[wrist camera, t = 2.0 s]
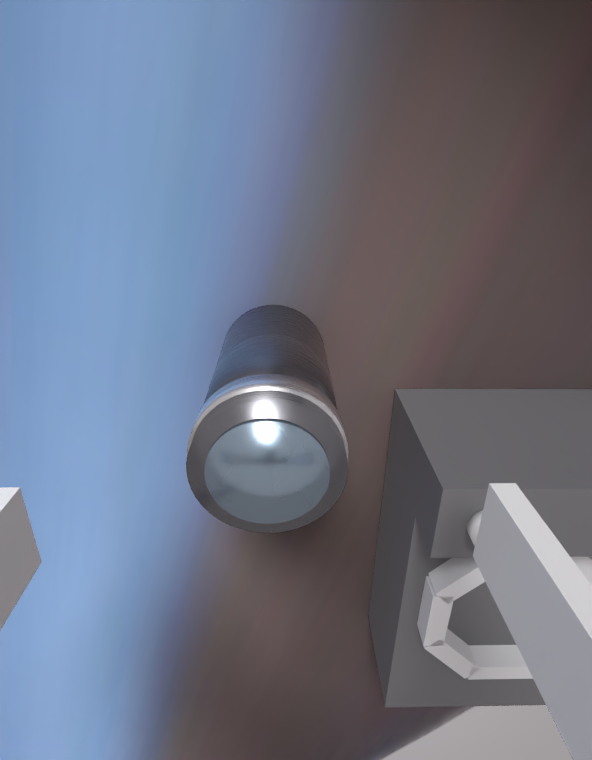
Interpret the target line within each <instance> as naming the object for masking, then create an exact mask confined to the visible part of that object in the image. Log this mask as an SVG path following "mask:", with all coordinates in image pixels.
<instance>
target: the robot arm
mask: <svg viewBox="0 0 592 760" xmlns="http://www.w3.org/2000/svg"><path fill="white" fill-rule="evenodd" d="M473 558H474V560H475V562H476V564H477V566H478V568H479V570H480V572H481V574H482V576H483V578H484V580H485V582H486V584H487V586H488V588H489V590H490V592H491V594H492V596H493V598H494V600H495V602H496V604H497V606H498V608H499V610H500V612H501V614H502V617H503V619H504V621H505V623H506V625H507V627H508V629H509V631H510V633H511V635H512V637H513V639H514V641H515V643H516V645H517V647H518V649H519V651H520V653H521V655H522V657H523V659H524V661H525V663H526V665H527V667H528V669H529V671H530V673H531V675H532V677H533V679H534V681H535V683H536V685H537V687H538V689H539V692H540V694H541V696H542V698H543V700H544V702H545V704H546V706H547V708H548V710H549V712H550V714H551V716H552V718H553V720H554V722H555V724H556V726H557V728H558V730H559V732H560V734H561V736H562V738H563V740H564V742H565V744H566V746H567V748H568V750H569V752H570V754H571V756H572V758H573V760H592V585H591V584H590V583H589V581H588V580H587V579H586V577H585V576H584V575H583V573H582V572H581V571H580V569H579V568H578V566H577V565H576V564H575V562H574V561H573V560H572V558H571V557H570V556H569V554H568V553H567V552H566V550H565V549H564V548H563V546H562V545H561V544H560V542H559V541H558V540H557V538H556V537H555V535H554V534H553V533H552V531H551V530H550V529H549V527H548V526H547V525H546V523H545V522H544V521H543V519H542V518H541V517H540V515H539V514H538V513H537V511H536V510H535V509H534V507H533V506H532V504H531V503H530V502H529V500H528V499H527V498H526V496H525V495H524V494H523V492H522V491H521V490H520V488H519V487H518V486H517V484H516V483H489V487H488V491H487V495H486V500H485V504H484V508H483V513H482V517H481V521H480V526H479V530H478V535H477V539H476V543H475V548H474V552H473ZM40 564H41V558H40V555H39V551H38V548H37V545H36V541H35V538H34V534H33V531H32V527H31V524H30V521H29V517H28V514H27V510H26V507H25V503H24V500H23V496H22V493H21V490H20V488H0V630H1V628H2V627H3V625H4V623H5V622H6V620H7V618H8V617H9V615H10V613H11V612H12V610H13V609H14V607H15V605H16V604H17V602H18V600H19V599H20V597H21V595H22V594H23V592H24V590H25V589H26V587H27V585H28V584H29V582H30V580H31V579H32V577H33V575H34V574H35V572H36V570H37V569H38V567H39V565H40Z"/></svg>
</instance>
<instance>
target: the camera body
mask: <svg viewBox="0 0 592 760" xmlns="http://www.w3.org/2000/svg"><path fill="white" fill-rule="evenodd" d="M489 483H516V484H517V486H518V487H519V488H520V490H521V491H522V492H523V494H524V495H525V496H526V498H527V499H528V500H529V502H530V503H531V504H532V506H533V507H534V509H535V510H536V511H537V513H538V514H539V515H540V517H541V518H542V519H543V521H544V522H545V523H546V525H547V526H548V527H549V529H550V530H551V531H552V533H553V534H554V535H555V537H556V538H557V540H558V541H559V542H560V544H561V545H562V546H563V548H564V549H565V550H566V552H567V553H568V554H569V556H570V557H571V558H572V560H573V561H574V562H575V564H576V565H577V566H578V568H579V569H580V571H581V572H582V573H583V575H584V576H585V577H586V579H587V580H588V581H589V583H590V584H591V585H592V389H395V393H394V402H393V410H392V419H391V427H390V436H389V444H388V453H387V461H386V470H385V478H384V487H383V495H382V504H381V512H380V521H379V529H378V538H377V546H376V555H375V563H374V572H373V580H372V589H371V597H370V606H369V614H368V618H369V624H370V629H371V635H372V640H373V646H374V651H375V657H376V662H377V668H378V673H379V679H380V684H381V689H382V695H383V700H384V706H385V708H387V707H447V706H500V705H501V706H506V705H507V706H508V705H546V704H545V702H544V700H543V698H542V696H541V694H540V692H539V689H538V687H537V685H536V683H535V681H534V679H533V677H532V675H531V673H530V671H529V669H528V667H527V665H526V663H525V661H524V659H523V657H522V655H521V653H520V651H519V649H518V647H517V645H516V643H515V641H514V639H513V637H512V635H511V633H510V631H509V629H508V627H507V625H506V623H505V621H504V619H503V617H502V614H501V612H500V610H499V608H498V606H497V604H496V602H495V600H494V598H493V596H492V594H491V592H490V590H489V588H488V586H487V584H486V582H485V580H484V578H483V576H482V574H481V572H480V570H479V568H478V566H477V564H476V562H475V560H474V558H473V552H474V548H475V543H476V539H477V535H478V530H479V526H480V521H481V517H482V513H483V508H484V504H485V500H486V495H487V491H488V487H489Z"/></svg>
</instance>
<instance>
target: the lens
mask: <svg viewBox="0 0 592 760" xmlns="http://www.w3.org/2000/svg"><path fill="white" fill-rule="evenodd" d="M186 469H187V477H188V481H189V484H190V487H191V490H192V491H193V493H194V495H195V497H196V498H197V500H198V501H199V502H200V504H201V505H202V506H203V507H204V508H205V509H206V510H207V511H208V512H209V513H211V514H212V515H213V516H214V517H216V518H217V519H219V520H221V521H222V522H224V523H226V524H228V525H230V526H233V527H236V528H239V529H242V530H246V531H251V532H258V533H278V532H285V531H290V530H294V529H297V528H300V527H303V526H305V525H307V524H309V523H311V522H313V521H315V520H317V519H318V518H320V517H321V516H323V515H324V514H325V513H326V512H327V511H328V510H330V508H331V507H332V506H333V505H334V504H335V503H336V501H337V500H338V498H339V497H340V495H341V493H342V491H343V489H344V487H345V484H346V480H347V474H348V445H347V440H346V435H345V431H344V426H343V423H342V420H341V417H340V415H339V413H338V411H337V407H336V402H335V397H334V392H333V387H332V383H331V378H330V373H329V368H328V364H327V359H326V354H325V349H324V344H323V340H322V337H321V335H320V333H319V331H318V329H317V327H316V326H315V325H314V323H313V322H312V321H311V320H310V319H309V318H308V317H306V316H305V315H304V314H302V313H301V312H299V311H297V310H295V309H292V308H289V307H286V306H281V305H266V306H261V307H257V308H254V309H252V310H250V311H248V312H246V313H244V314H243V315H242V316H240V317H239V318H238V319H237V320H236V321H235V322H234V323H233V324H232V326H231V328H230V329H229V331H228V333H227V335H226V338H225V341H224V344H223V347H222V350H221V353H220V356H219V359H218V362H217V366H216V369H215V372H214V375H213V378H212V381H211V384H210V387H209V390H208V393H207V396H206V399H205V402H204V405H203V406H202V408H201V409H200V411H199V413H198V415H197V417H196V420H195V423H194V426H193V429H192V432H191V435H190V438H189V442H188V449H187V462H186Z"/></svg>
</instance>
